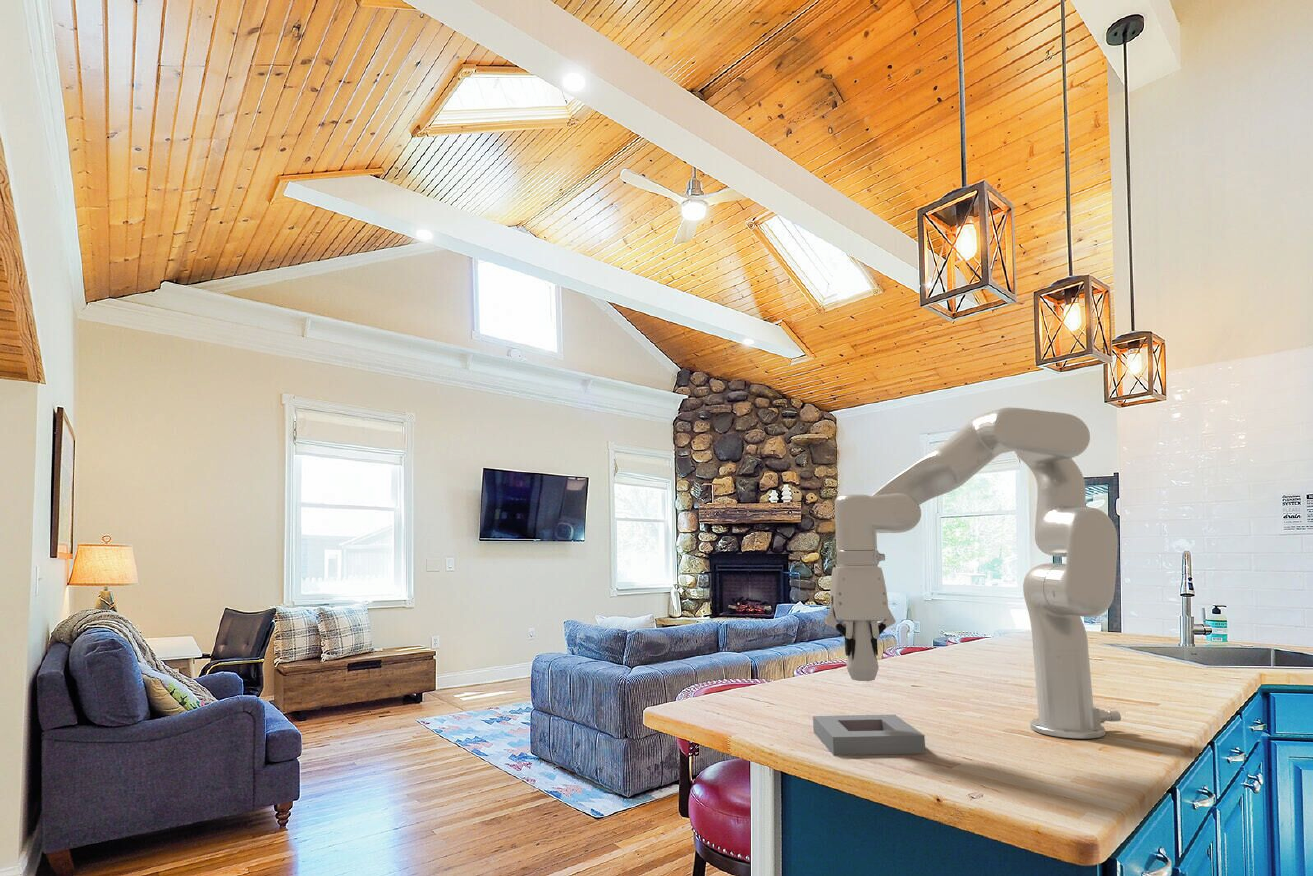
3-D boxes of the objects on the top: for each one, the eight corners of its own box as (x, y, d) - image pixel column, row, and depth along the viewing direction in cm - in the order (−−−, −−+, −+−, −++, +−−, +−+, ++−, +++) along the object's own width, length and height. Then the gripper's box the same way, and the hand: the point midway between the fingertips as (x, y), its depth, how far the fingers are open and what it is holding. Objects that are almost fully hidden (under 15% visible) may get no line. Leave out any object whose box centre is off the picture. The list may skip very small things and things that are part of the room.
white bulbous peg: (880, 682, 137) (876, 609, 139) (847, 681, 138) (844, 609, 140) (877, 676, 143) (874, 606, 144) (846, 676, 144) (843, 606, 145)
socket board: (895, 730, 147) (894, 714, 147) (925, 753, 131) (924, 735, 131) (813, 732, 147) (812, 716, 147) (833, 755, 131) (832, 737, 131)
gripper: (893, 559, 147) (898, 656, 145) (810, 560, 147) (813, 657, 144) (906, 560, 140) (912, 662, 137) (818, 561, 139) (822, 663, 137)
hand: (861, 658), depth 141 cm, fingers closed on white bulbous peg, 3 cm apart
